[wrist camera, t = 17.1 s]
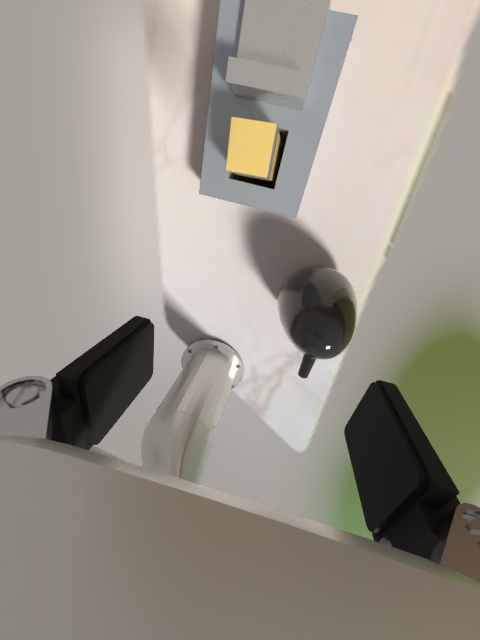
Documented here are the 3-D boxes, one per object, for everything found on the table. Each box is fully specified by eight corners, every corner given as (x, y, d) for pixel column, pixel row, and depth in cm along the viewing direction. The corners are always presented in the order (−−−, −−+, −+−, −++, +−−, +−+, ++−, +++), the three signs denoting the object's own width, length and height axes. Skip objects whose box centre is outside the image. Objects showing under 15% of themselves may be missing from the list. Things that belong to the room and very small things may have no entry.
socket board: (295, 214, 32) (295, 218, 28) (211, 193, 33) (199, 193, 29) (346, 47, 24) (357, 15, 20) (233, 25, 25) (221, -10, 21)
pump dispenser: (270, 310, 39) (258, 369, 26) (294, 249, 34) (293, 284, 21) (328, 331, 39) (346, 400, 26) (362, 272, 34) (405, 323, 21)
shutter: (302, 109, 23) (303, 98, 20) (233, 95, 24) (225, 81, 21) (330, 1, 20) (336, -31, 17) (249, -13, 20) (242, -48, 17)
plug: (275, 182, 31) (267, 178, 22) (244, 177, 31) (225, 170, 23) (282, 144, 29) (277, 122, 20) (249, 139, 29) (231, 115, 21)
